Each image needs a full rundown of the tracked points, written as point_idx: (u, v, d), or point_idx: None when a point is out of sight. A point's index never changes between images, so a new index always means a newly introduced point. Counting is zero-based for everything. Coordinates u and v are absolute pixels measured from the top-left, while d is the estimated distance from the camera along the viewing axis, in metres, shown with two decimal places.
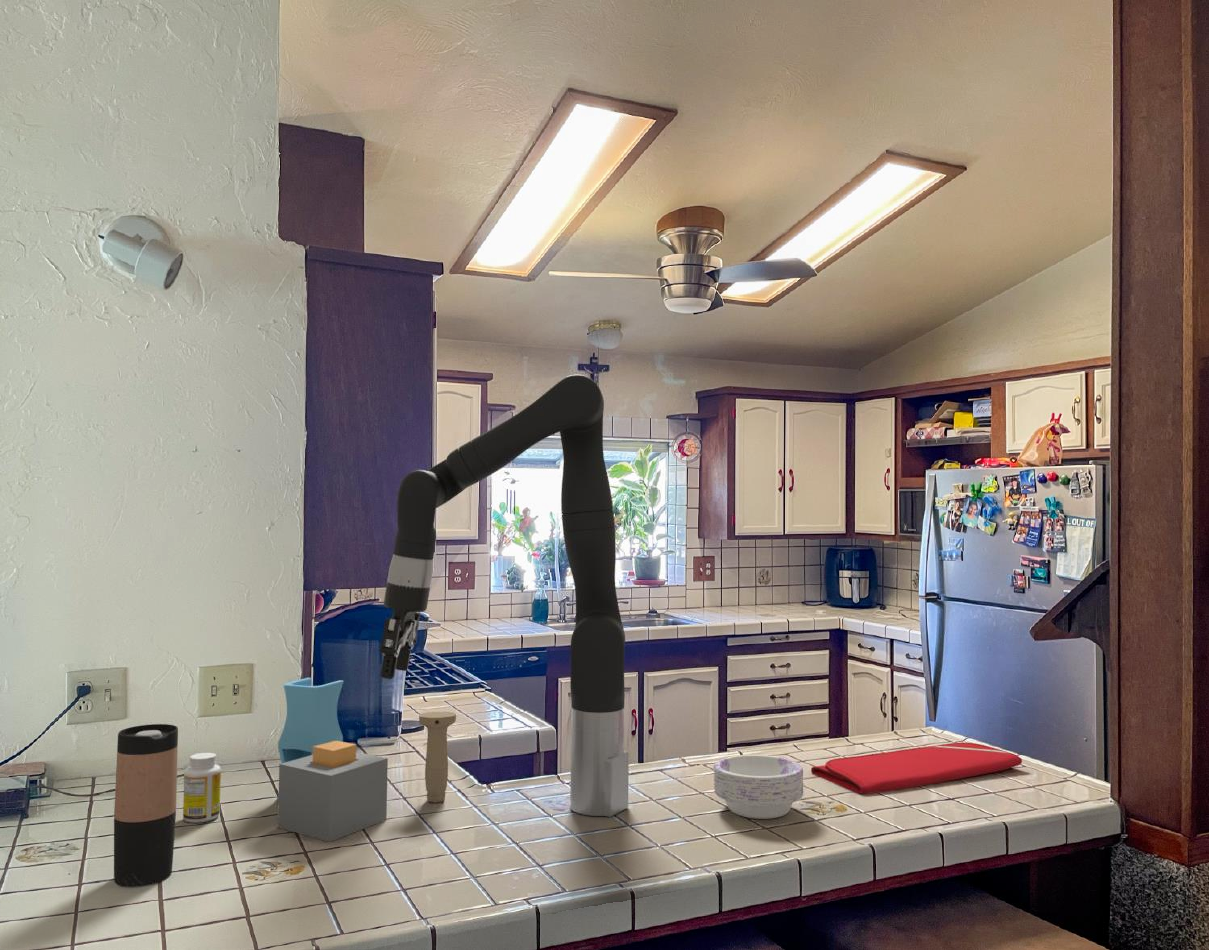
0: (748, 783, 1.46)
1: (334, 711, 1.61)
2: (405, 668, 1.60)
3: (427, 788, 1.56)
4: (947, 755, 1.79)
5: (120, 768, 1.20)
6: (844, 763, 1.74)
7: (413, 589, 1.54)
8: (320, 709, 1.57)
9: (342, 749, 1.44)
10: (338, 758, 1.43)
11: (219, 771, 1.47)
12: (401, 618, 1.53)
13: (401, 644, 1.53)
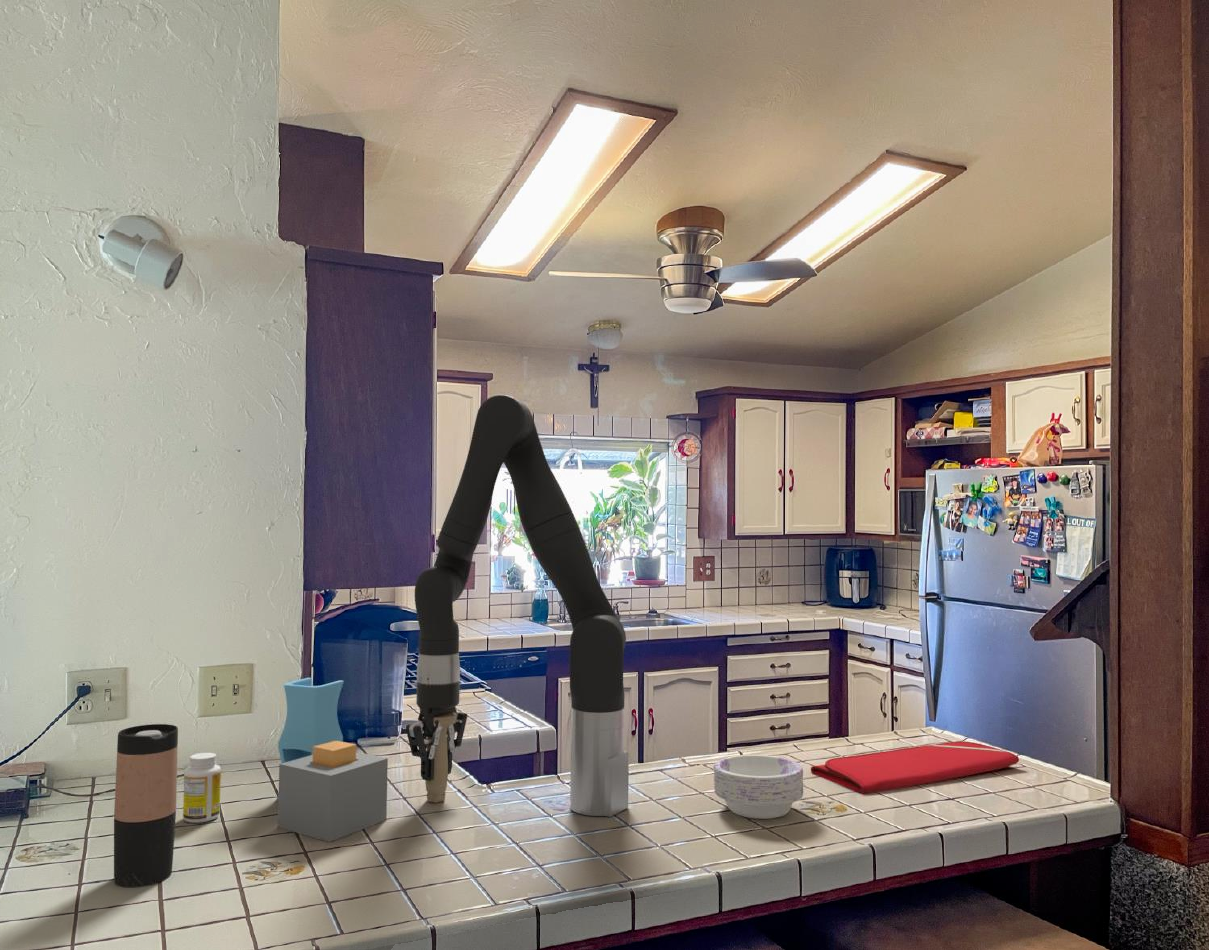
0: (748, 783, 1.46)
1: (335, 711, 1.61)
2: None
3: (427, 788, 1.56)
4: (945, 754, 1.80)
5: (120, 768, 1.20)
6: (844, 762, 1.74)
7: (433, 686, 1.54)
8: (320, 709, 1.57)
9: (342, 749, 1.44)
10: (338, 758, 1.43)
11: (219, 771, 1.47)
12: (425, 716, 1.54)
13: (433, 745, 1.55)
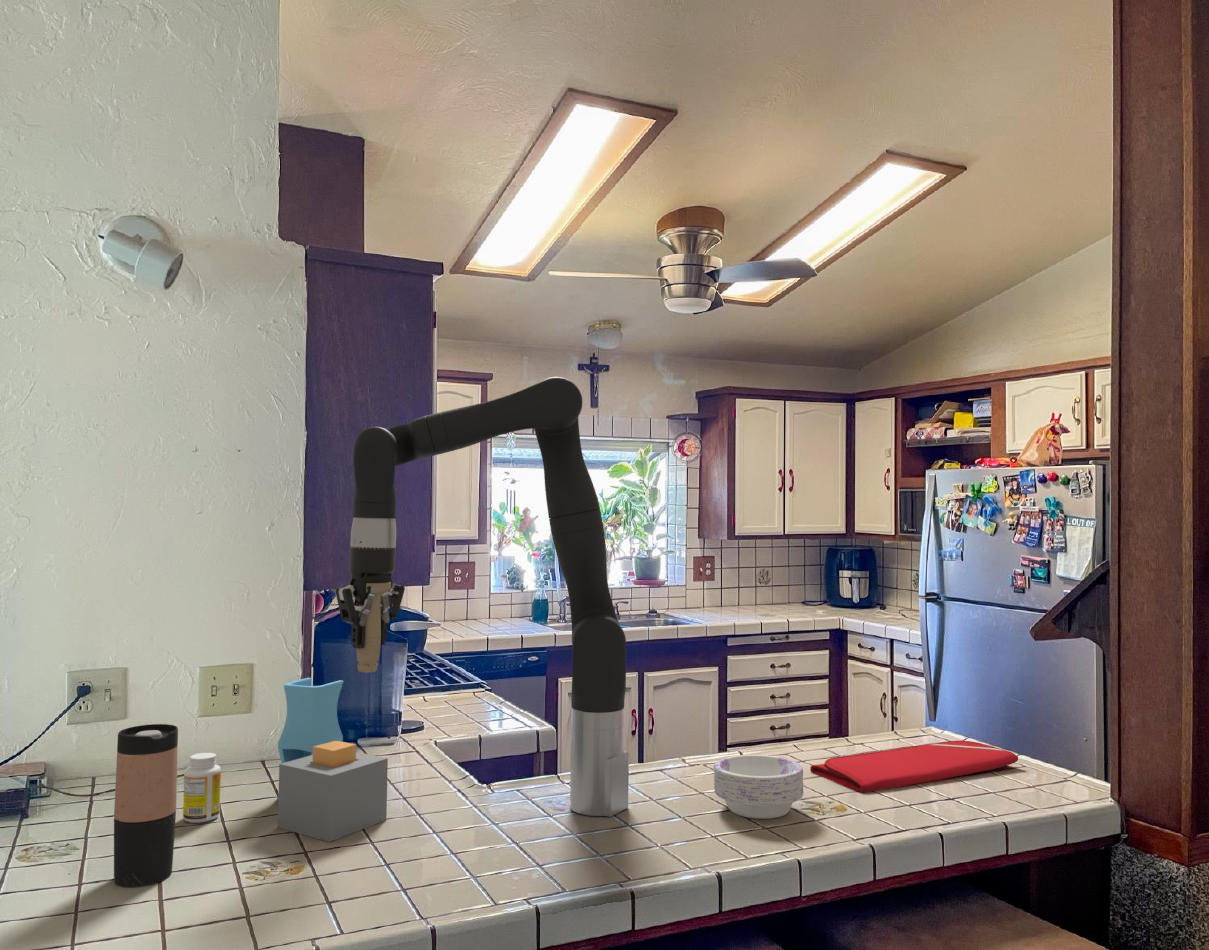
0: (748, 783, 1.46)
1: (334, 711, 1.61)
2: None
3: (358, 657, 1.49)
4: (944, 753, 1.81)
5: (120, 768, 1.20)
6: (843, 761, 1.75)
7: (365, 549, 1.47)
8: (320, 709, 1.57)
9: (342, 749, 1.44)
10: (338, 758, 1.43)
11: (219, 771, 1.47)
12: (356, 580, 1.47)
13: (365, 611, 1.48)
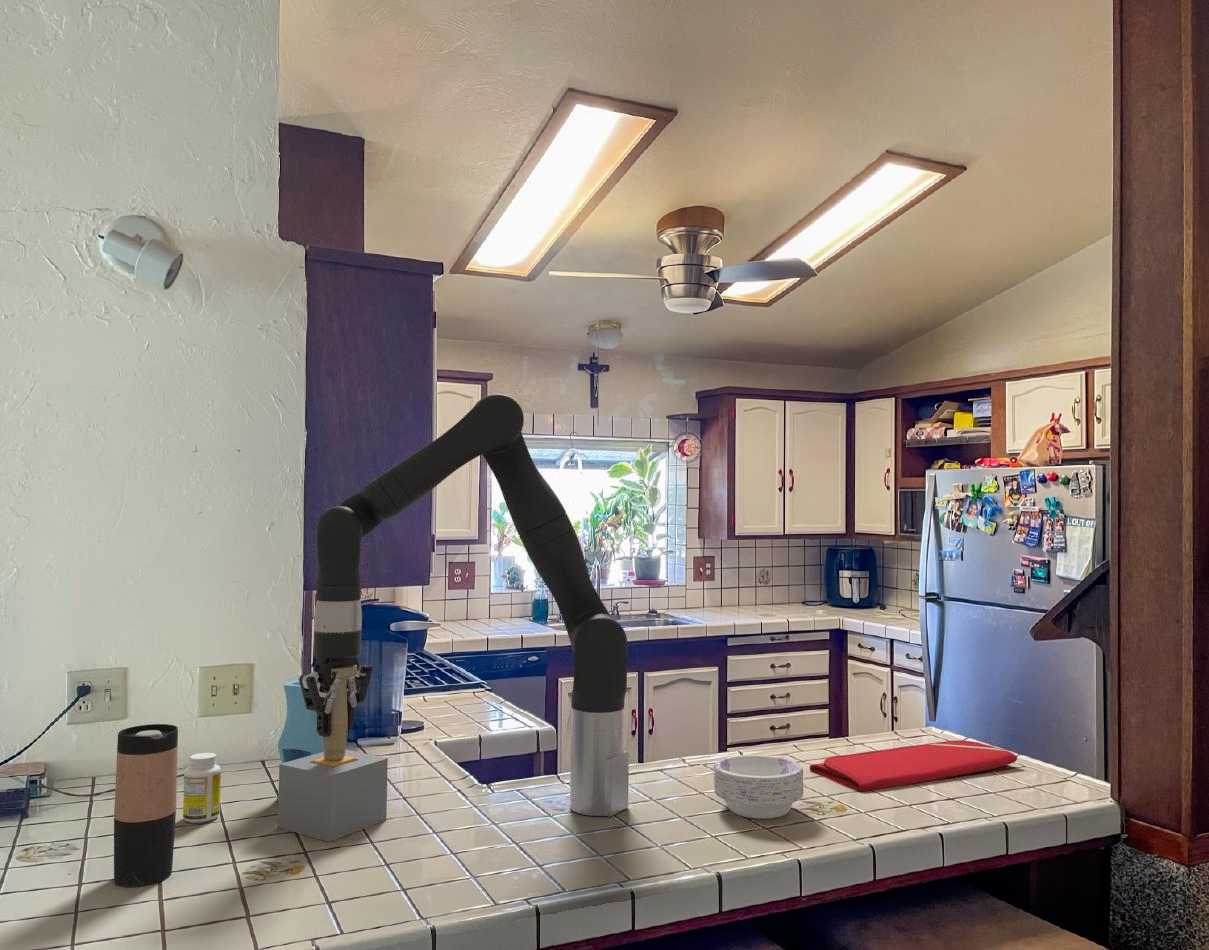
0: (748, 783, 1.46)
1: None
2: (348, 728, 1.47)
3: (324, 745, 1.44)
4: (943, 753, 1.81)
5: (120, 768, 1.20)
6: (842, 761, 1.75)
7: (329, 634, 1.43)
8: None
9: (342, 763, 1.44)
10: None
11: (219, 771, 1.47)
12: (321, 667, 1.42)
13: (330, 698, 1.43)
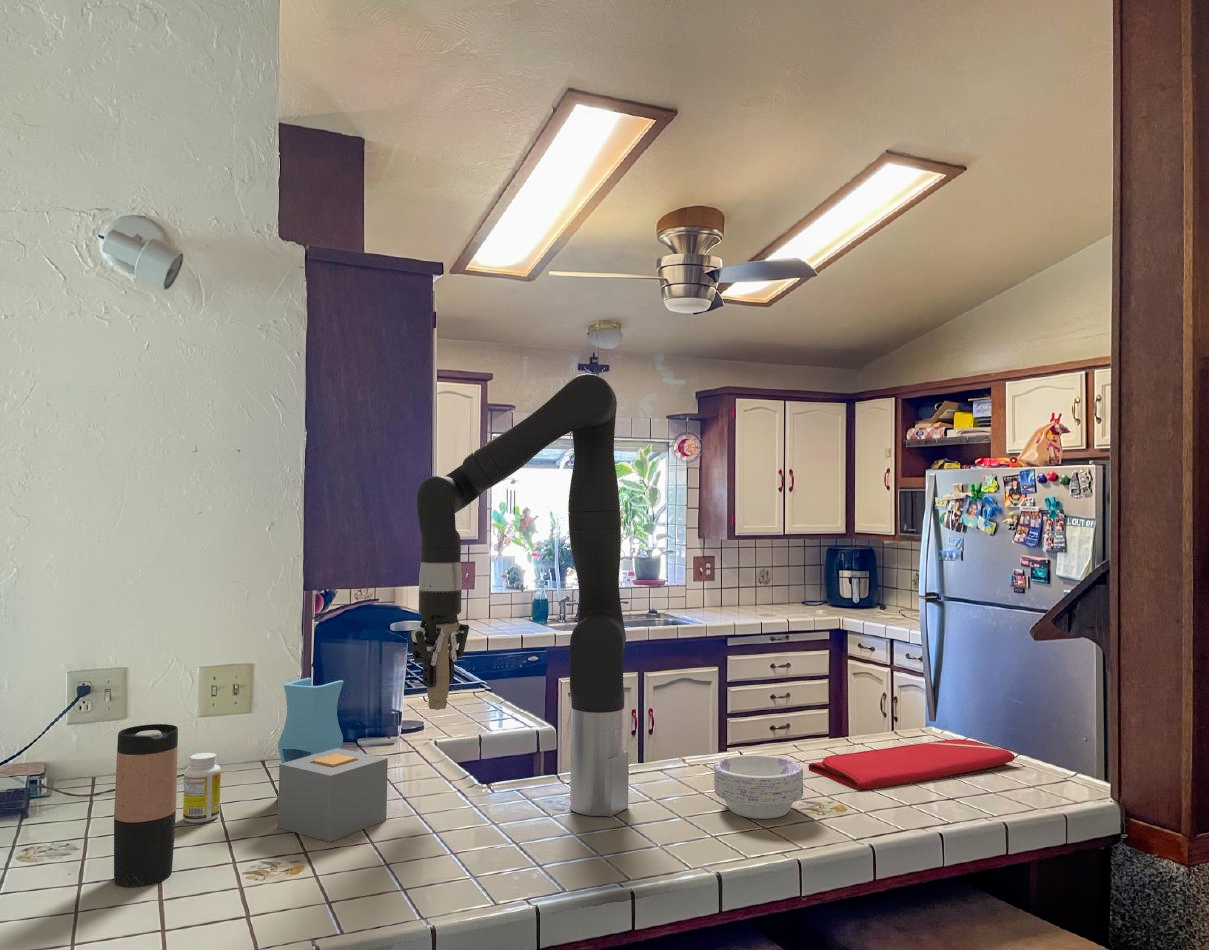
0: (748, 783, 1.46)
1: (335, 711, 1.61)
2: (449, 681, 1.59)
3: (429, 695, 1.57)
4: (941, 751, 1.82)
5: (120, 768, 1.20)
6: (841, 760, 1.76)
7: (435, 593, 1.55)
8: (320, 709, 1.57)
9: (342, 763, 1.44)
10: None
11: (219, 771, 1.47)
12: (427, 623, 1.55)
13: (435, 652, 1.55)
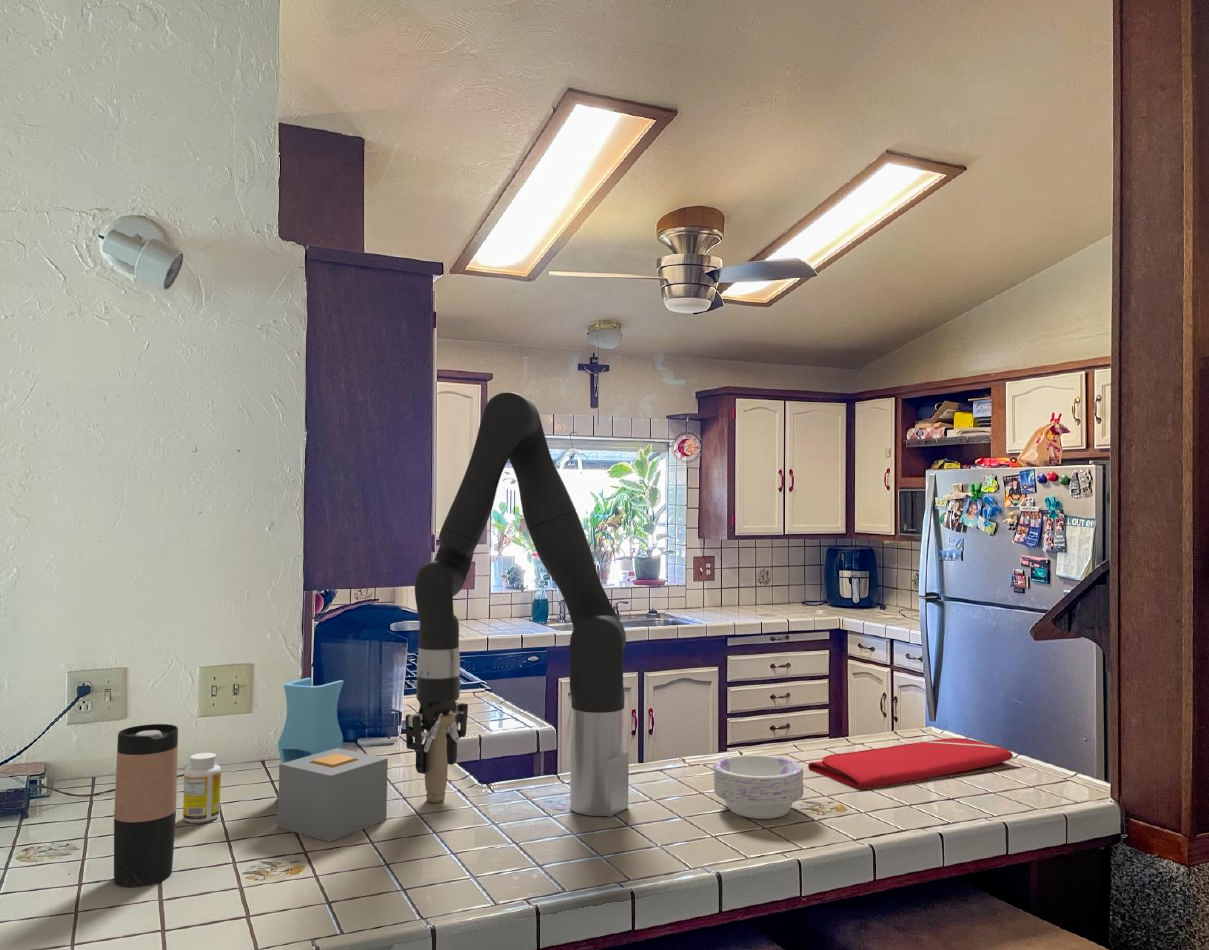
0: (748, 783, 1.46)
1: (334, 711, 1.61)
2: (452, 762, 1.59)
3: (427, 788, 1.56)
4: (940, 750, 1.83)
5: (120, 768, 1.20)
6: (841, 759, 1.77)
7: (433, 680, 1.54)
8: (320, 709, 1.57)
9: (342, 763, 1.44)
10: None
11: (219, 771, 1.47)
12: (425, 710, 1.54)
13: (430, 738, 1.54)
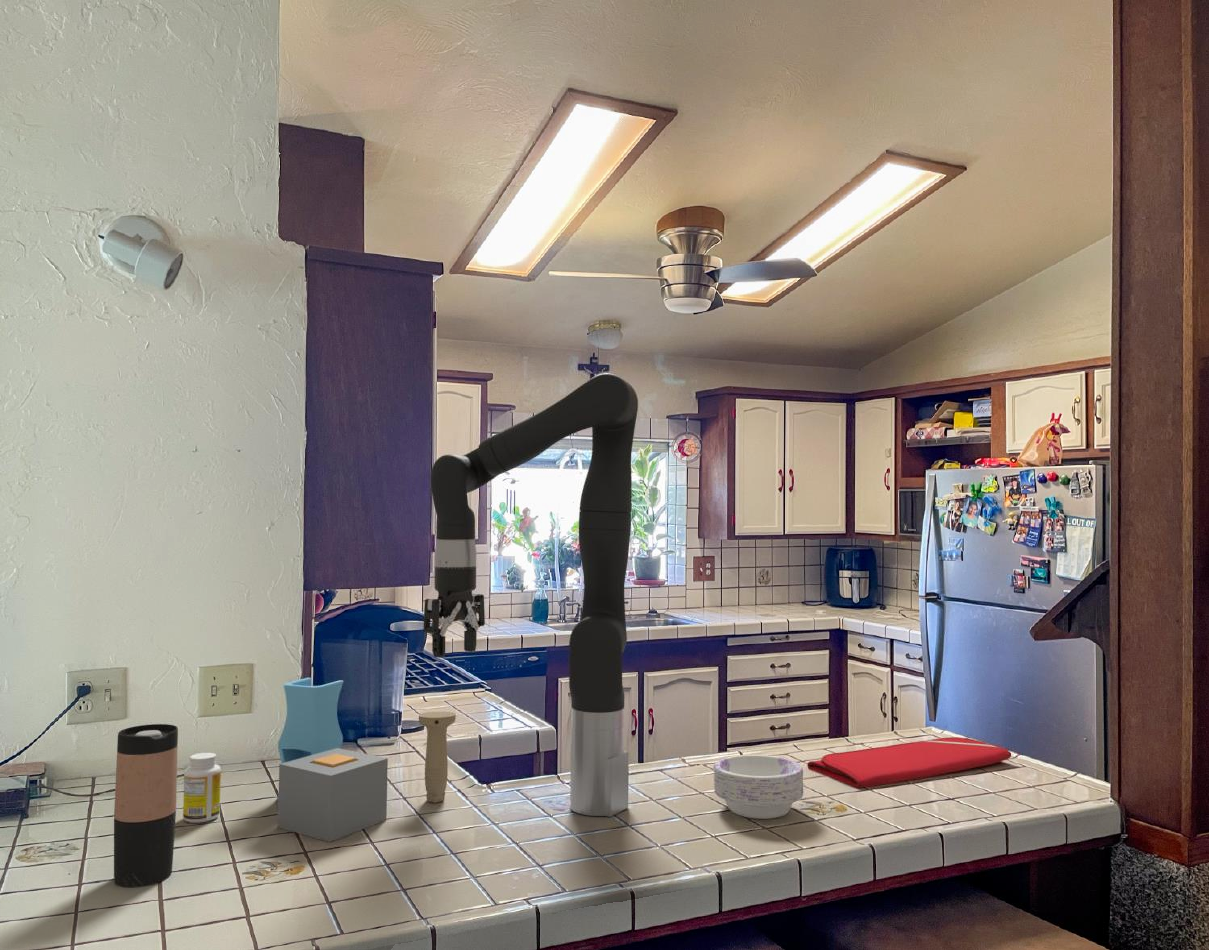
0: (748, 783, 1.46)
1: (334, 711, 1.61)
2: (472, 649, 1.64)
3: (427, 788, 1.56)
4: (939, 749, 1.84)
5: (120, 768, 1.20)
6: (840, 758, 1.77)
7: (451, 569, 1.58)
8: (320, 709, 1.57)
9: (342, 763, 1.44)
10: None
11: (219, 771, 1.47)
12: (444, 598, 1.58)
13: (447, 623, 1.58)
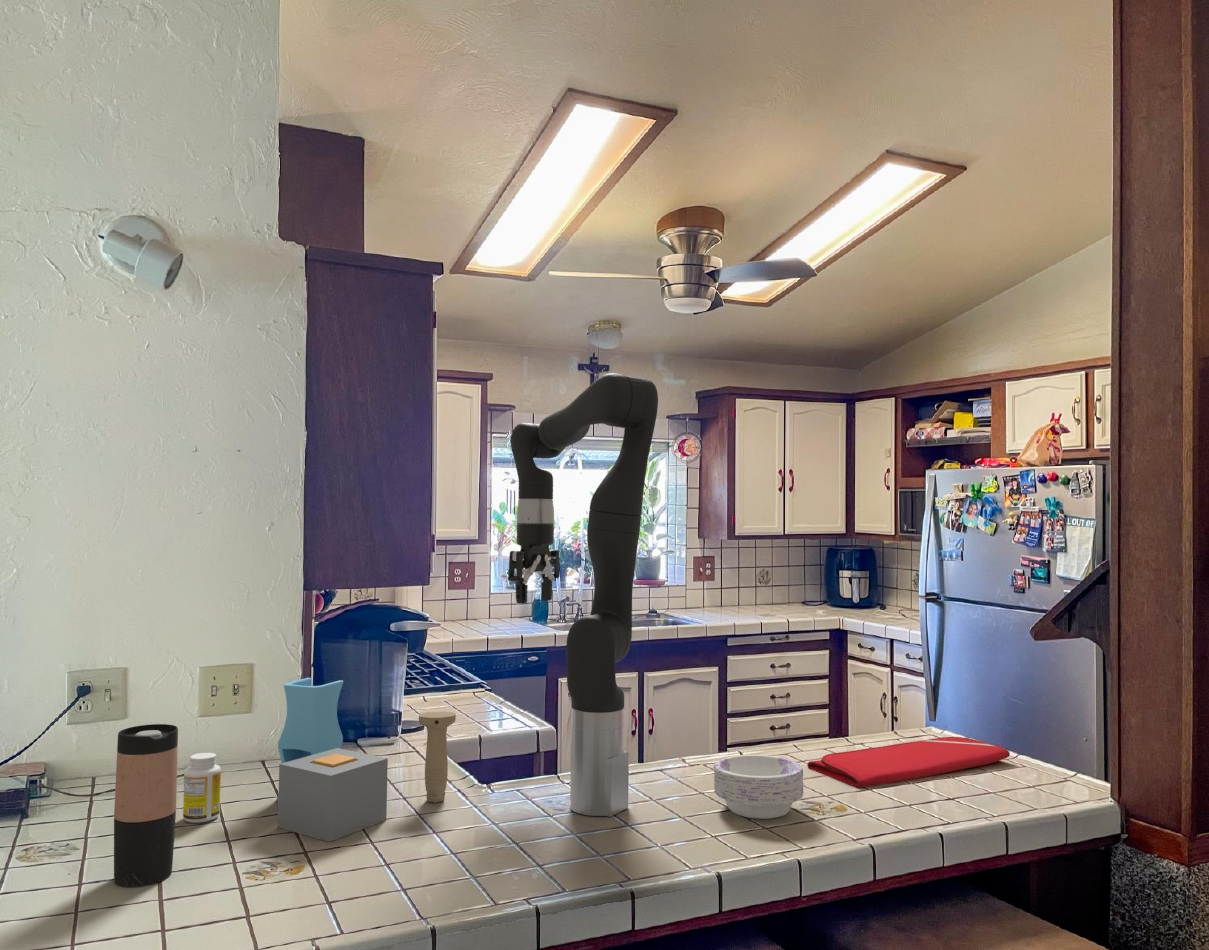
0: (748, 783, 1.46)
1: (334, 711, 1.61)
2: (548, 598, 1.83)
3: (427, 788, 1.56)
4: (938, 749, 1.84)
5: (120, 768, 1.20)
6: (840, 758, 1.78)
7: (533, 525, 1.77)
8: (320, 709, 1.57)
9: (342, 763, 1.44)
10: None
11: (219, 771, 1.47)
12: (526, 551, 1.76)
13: (529, 573, 1.76)
